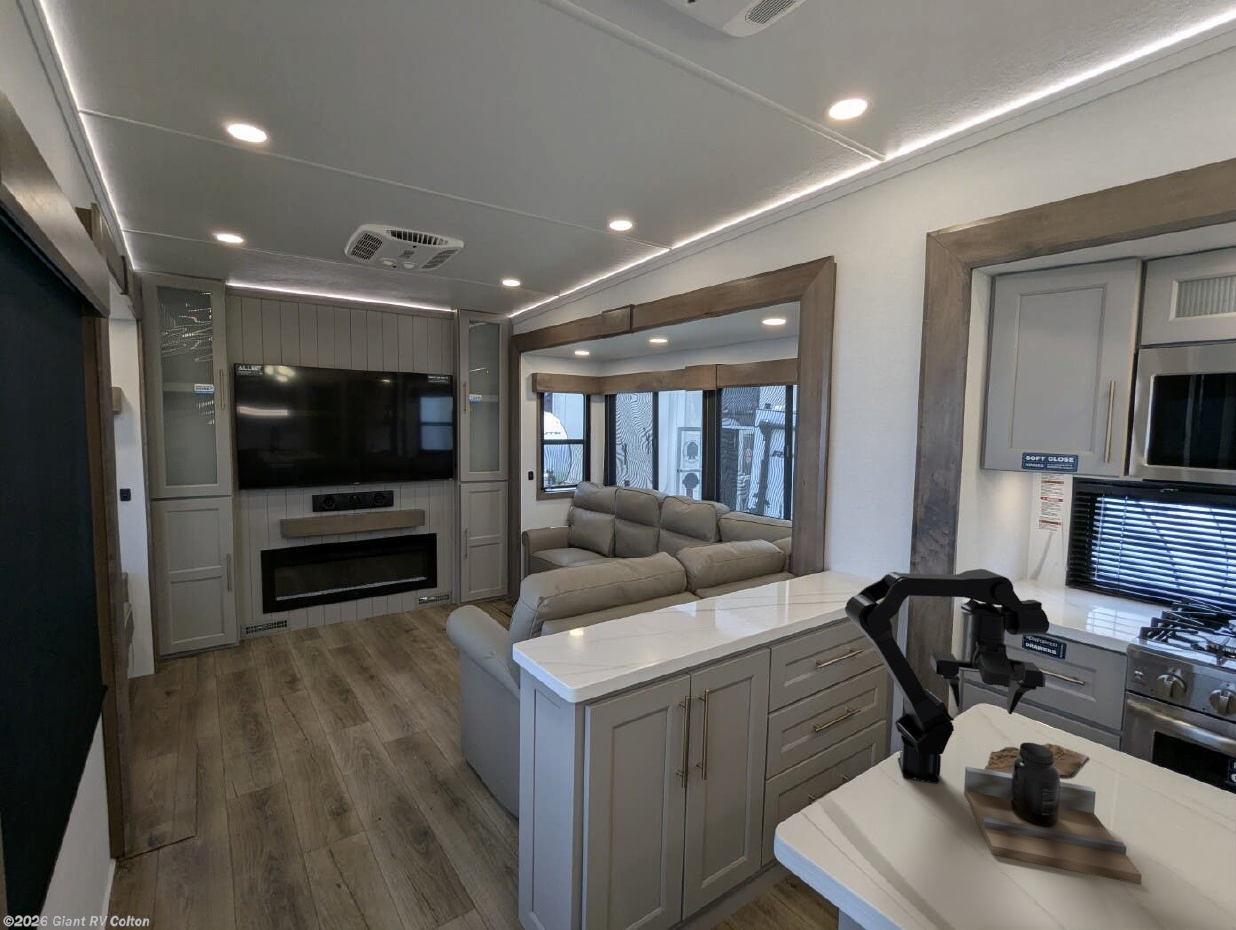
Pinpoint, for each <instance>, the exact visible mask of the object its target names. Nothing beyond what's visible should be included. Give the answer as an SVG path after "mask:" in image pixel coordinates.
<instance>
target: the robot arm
mask: <svg viewBox="0 0 1236 930" xmlns="http://www.w3.org/2000/svg"><path fill="white" fill-rule="evenodd" d="M909 596H910V597H912V596H913V597H939V598H940V597H943V598H946V597H947V598H950V597H951V598H965V599H969V600H968V601H967V602H965V603H963V604H962V605H961V606H960V609H962V610H963V611H965V612H967V613H968V614H970V615H971V620H970V621H971V622H970V632H969V634H968V638H969V639H970V640H969V651H968V653H967V658H968V660H962V659H961V660H960V659H957V658H956V657H955V655H954V654H953V653H949V652H940V651H933V652H932V653H931V655H930V661H929V662H930V665H931V667H932V669H933V671H934V672H935V674H937V675H939V676H941V677H942V678H943V679H944V680H946V681H947V683H948V686H949V688H950V689H949V690H950V692H951V695H952V698H953V701H954V705H955V706H956V708H959V707H960V704H961V703H960V701H961V700H960V681H961V678H960V677H959V673H960V671H965V672H974V673H979V675H980V677H981V681H982V683H984V684H985V685H987V686H1001V687H1004V688H1007V697H1006V698H1007V699H1006V709H1007V713H1008V714H1009V715H1012V714H1013V713H1014V711H1015V709H1016V707H1017V706H1018V703H1019V702H1020V701H1021V699H1022V698H1023V696H1024V695H1025V694H1026V693H1027V692H1030V691H1036V690H1037V688H1045V687H1046V675H1045V673H1044V672H1043V671H1042V670H1041V669H1040V668H1039V667H1038V666H1037V665H1036V664H1035V663H1034V662H1033V661H1031V662H1030V661H1023V660H1017V659H1013V658H1009V657H1008V654H1007V645H1006V644H1005V640H1006V639H1005V638H1006V637H1005V636H1006V635H1005V634H1006V632H1007V633H1008V634H1009V635H1012V636H1043V635H1046V634H1047V633H1048V631H1049V629H1050V621H1049V618H1048V615H1047V613H1046V612H1045V610H1044V609H1043V608H1042V607H1043V603H1042V602H1041V601H1038V600H1036V599H1026V600H1021V599H1020V598H1019V596H1018V595H1017V594H1016V592H1015V591H1014V585H1013V582H1012V581H1011V580H1010V578H1008V577H1006V576H1004V575H1001V574H998V573H996V572H993V571H990V570H988V569H984V568H978V569H971V570H965V571H963V572H960V573H957V574H956V573H955V574H941V573H939V574H935V573H933V574H932V573H907V572H906V573H905V572H903V573H902V572H897V571H890V572H888V573H887V574H885V575H884V576H883V577H882V578H880V580H877V581H876V582H874V583H871V584H870V585H868V586H866V587H864V588H863V589H862V590H860V592H859V593H857V594H855V595H853V596H851V597H850V598H849V599H848V601H847V602H846V604H845V607H844V611H845V614H846V616H847V617H848V618H849V620H850V621H851V622H852V623H853V624H854V625H855V627H856V628H857V629H858V630H859V631H860V632H861V633H862V634H863V635H864V636H865V637H866V638H867V639H868V640H869V641H870V643H871V645H872V646H873V648H874V650H875V652H876V653H877V655H878V656H879V657H878V658H879V659H880V660H881V662H882V663H883V665H884V667H885V668H886V671H887V672H888V674H889V675H890V677H891V679H892V680H893V682H894V683H895V685H896V687H897V689H898V690H899V692H900V694H901V695H902V699H903V708H904V711H905V712H904V714H902V715H901V716H900V717H899V718H898V719H897V720H896V721H895V723H894V724H895V728H896V731H897V732H898V733H899V734H901V735H900V749H899V750H900V753H899V757H897V763H898V766H899V767H900V772H901V774H902V777H903V776H904V777H903V778H905V777H906V778H905V779H909V778H916V779H919V780H918V781H921V780H924V781H923V782H927V781H930V782H929V783H932V784H933V783H934V784H939V783H940V779H939V777H940V776H941V766H942V765H941V762H942V756H941V755H943V754H944V751H945V749H946V748H947V747H946V746H947V745H948V742H949V740H950V738H951V737H952V735H953V732H954V731H955V727H954V725H953V721H955V718H953V717H952V716H951V715H950V714H949V712H948V708H947V707H946V704H945V703H944V702H943V701H942V700H941V699H940V698H939V697H937V696H936V695H935V694H934V693H933V692H931V691H930V690H929V689H924V688H923V686H922V684H921V682H920V680H919V679H918V677H917V676H916V674H915V672H914V670H913V668H912V667H911V665H910V663H909V661H908V660H907V658H906V657H905V655H904V653H903V652H902V650H901V648H900V647H899V645H898V643H897V642H896V640H895V638H894V631H893V629H894V628H893V625H892V621H891V619H892V618H894V617H895V616H896V615H897V614H898V613H899V610H900V608H901V606H902V604H903V603H904V601H905V600H906V599H907V598H908V597H909ZM882 599H883V600H882ZM880 600H882V601H880ZM878 601H880V602H879V603H878ZM901 751H902V752H901Z"/></svg>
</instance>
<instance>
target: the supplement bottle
mask: <svg viewBox="0 0 1236 930" xmlns="http://www.w3.org/2000/svg"><path fill="white" fill-rule="evenodd" d="M1042 745H1043V744H1038V743H1035V742H1022V743H1021V744H1020V746H1019V749H1020V752H1019V756H1020V757H1017V758H1016V759H1014V761H1013V764H1012V786H1011V807H1012V810H1013V811H1014V812H1015V814H1016V815H1018V816H1019V817H1020V818H1022V819H1023V820H1025V821H1027V822H1029V823H1032V824H1035V825H1039V826H1053V825H1055V824H1056V823H1057V821H1058V813H1059V791H1060V782H1061V775H1059V772H1058V771H1057V769H1056V768H1055V767H1054V766H1053V765H1054V760H1053V759H1054V754H1053V752H1052V751H1051V750H1050V749H1048V748H1046V747H1044V746H1042Z"/></svg>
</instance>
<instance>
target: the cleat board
mask: <svg viewBox="0 0 1236 930" xmlns="http://www.w3.org/2000/svg"><path fill="white" fill-rule="evenodd" d="M963 786H964V789H963V795H964V797H965V799H966V801H968V802H967V804H968V803H969V804H968V805H969V807H970V808H969V809H970V810H971V812H972V815H973V816H974V819H975V821H976V823H977V825H978V827H979V829H980V832H981V833H982V836H983V838H984V841H985V843H986V845H987V846H988V847H987V848H989V851H990V853H991V855H992V856H998V857H1004V858H1009V859H1014V860H1019V861H1023V862H1024V861H1025V862H1028V863H1033V864H1038V865H1043V866H1048V867H1053V868H1059V869H1064V870H1068V871H1073V872H1079V873H1083V874H1089V875H1093V876H1094V875H1095V876H1099V877H1104V878H1109V879H1113V880H1120V881H1123V882H1129V883H1134V884H1140V885H1142V873H1141V872H1140V870H1139V869H1138V868H1137V867H1136V866H1135V864H1134V863H1133V862H1132V861H1131V859H1130V858H1129V856H1128V855H1127V850H1128V849H1127V846H1126V845H1125V844H1124V843H1123V841H1117V840H1115V839H1114V837H1113V836H1112V834H1110V832H1109V830H1108V829H1107V828H1106V827H1105V825H1104V824H1103V822H1101V820H1100V819H1099V818H1098V817H1097V815H1096V814H1095V808H1096V806H1095V805H1096V795H1097V794H1096V790H1095V789H1094V788H1093V787H1092V786H1090V785H1089V786H1088V785H1083V784H1076V783H1070V782H1066V781H1065V782H1063V781H1060V791H1059V813H1058V821H1057V823H1056V824H1055V825H1053V826H1039V825H1035V824H1032V823H1029V822H1027V821H1025V820H1023V819H1022V818H1020V817H1019V816H1018V815H1016V814H1015V812H1014V811H1013V810H1012V807H1011V786H1012V774H1009V773H1003V772H997V771H991V770H985V768H984V769H983V768H977V767H972V766H965V771H964V785H963Z"/></svg>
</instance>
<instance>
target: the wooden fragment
mask: <svg viewBox="0 0 1236 930" xmlns="http://www.w3.org/2000/svg"><path fill="white" fill-rule="evenodd" d="M1041 745H1042V746H1044V747H1046V748H1048V749H1050V750H1051V751H1052V752H1053V754H1054V759H1053V760H1054V765H1053V766H1054V767H1055V768H1056V769H1057V771H1058V772H1059V775H1060V776H1068V777H1071V776H1072V775H1073V774H1074V772H1076V770H1078V768H1079V767H1080V766H1081V765H1083V763H1084V762H1085V761H1086V760H1087V759H1090V758H1089V756H1088V755H1085V754H1082V753H1080V752H1077V751H1074V750H1071V749H1069V748H1065V747H1063V746H1060V745H1058V744H1052V743H1049V742H1047V743H1045V744H1041ZM1019 752H1020V748H1017V747H1014V746H1007V747H1006V746H1005V747H1004V748H1001V749H1000V750H998V751H993V750H992V751H991V752H990V756H989V758H988V762H987V765H986V766H985V767H984V769H985V770H991V771H997V772H1003V773H1009V774H1012V764H1013V761H1014V759H1016V758H1017V757H1020V756H1019Z"/></svg>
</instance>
